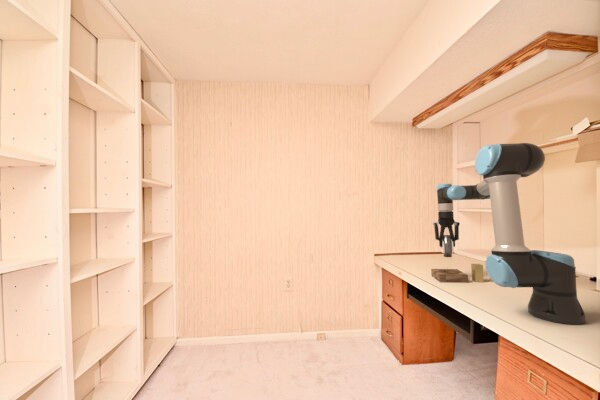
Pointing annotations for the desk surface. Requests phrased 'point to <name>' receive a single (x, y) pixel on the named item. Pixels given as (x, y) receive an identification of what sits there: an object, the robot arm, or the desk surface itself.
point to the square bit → (477, 272)
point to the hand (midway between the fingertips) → (447, 252)
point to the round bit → (447, 245)
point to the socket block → (449, 275)
